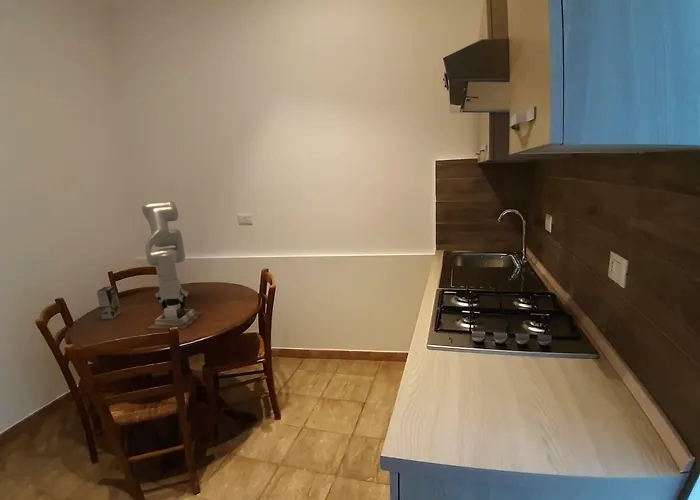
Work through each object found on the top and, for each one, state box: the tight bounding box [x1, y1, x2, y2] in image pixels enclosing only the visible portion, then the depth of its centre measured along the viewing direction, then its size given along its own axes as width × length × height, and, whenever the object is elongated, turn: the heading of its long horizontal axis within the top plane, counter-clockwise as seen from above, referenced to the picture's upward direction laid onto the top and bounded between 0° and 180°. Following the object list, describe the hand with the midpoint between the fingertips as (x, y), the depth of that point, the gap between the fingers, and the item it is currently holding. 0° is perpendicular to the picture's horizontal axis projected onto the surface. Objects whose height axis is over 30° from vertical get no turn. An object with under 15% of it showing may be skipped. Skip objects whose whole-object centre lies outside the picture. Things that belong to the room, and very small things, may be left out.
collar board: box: [147, 308, 203, 331], centre depth 226 cm, size 20×20×4 cm
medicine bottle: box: [163, 299, 185, 319], centre depth 225 cm, size 7×7×12 cm
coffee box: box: [96, 285, 121, 320], centre depth 239 cm, size 9×6×16 cm
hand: (174, 308), depth 225 cm, fingers open, 9 cm apart
